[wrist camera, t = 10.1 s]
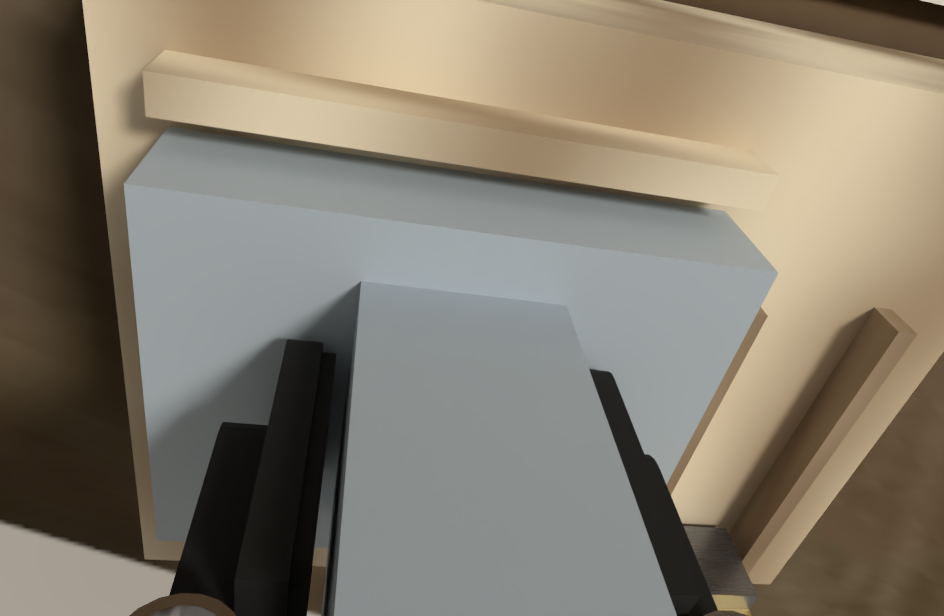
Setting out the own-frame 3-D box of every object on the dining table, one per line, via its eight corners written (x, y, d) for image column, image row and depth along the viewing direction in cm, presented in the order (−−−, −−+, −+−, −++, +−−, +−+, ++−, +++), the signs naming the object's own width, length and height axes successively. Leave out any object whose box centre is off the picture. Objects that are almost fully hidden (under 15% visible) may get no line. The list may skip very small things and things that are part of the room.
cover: (185, 456, 14) (35, 897, 8) (168, 126, 10) (-139, 522, 4) (601, 484, 15) (720, 866, 10) (725, 211, 12) (1041, 577, 6)
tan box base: (188, 432, 19) (130, 599, 15) (164, -106, 12) (38, -72, 8) (714, 471, 22) (787, 619, 18) (951, 61, 15) (1165, 149, 11)
